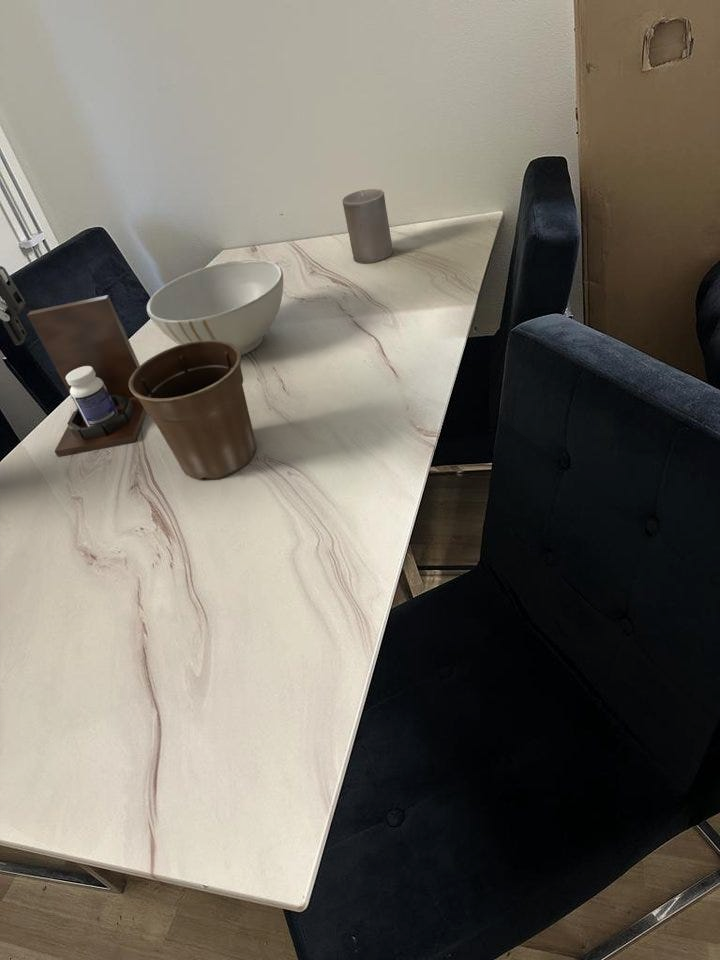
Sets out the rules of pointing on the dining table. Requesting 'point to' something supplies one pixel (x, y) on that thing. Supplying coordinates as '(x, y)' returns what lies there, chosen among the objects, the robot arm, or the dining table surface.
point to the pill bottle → (91, 396)
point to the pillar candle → (368, 225)
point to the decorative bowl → (220, 303)
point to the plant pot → (199, 406)
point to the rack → (105, 347)
